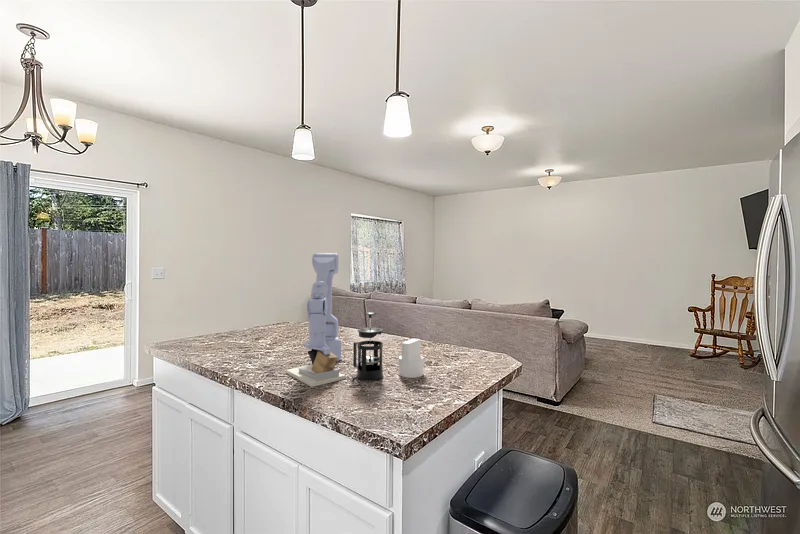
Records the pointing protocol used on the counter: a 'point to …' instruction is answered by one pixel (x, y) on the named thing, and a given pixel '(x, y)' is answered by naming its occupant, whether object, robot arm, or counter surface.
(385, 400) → the counter surface
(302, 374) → the shallow rectangular tray
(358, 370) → the french press
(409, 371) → the cylinder with rectangular tab
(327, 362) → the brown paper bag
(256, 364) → the counter surface
